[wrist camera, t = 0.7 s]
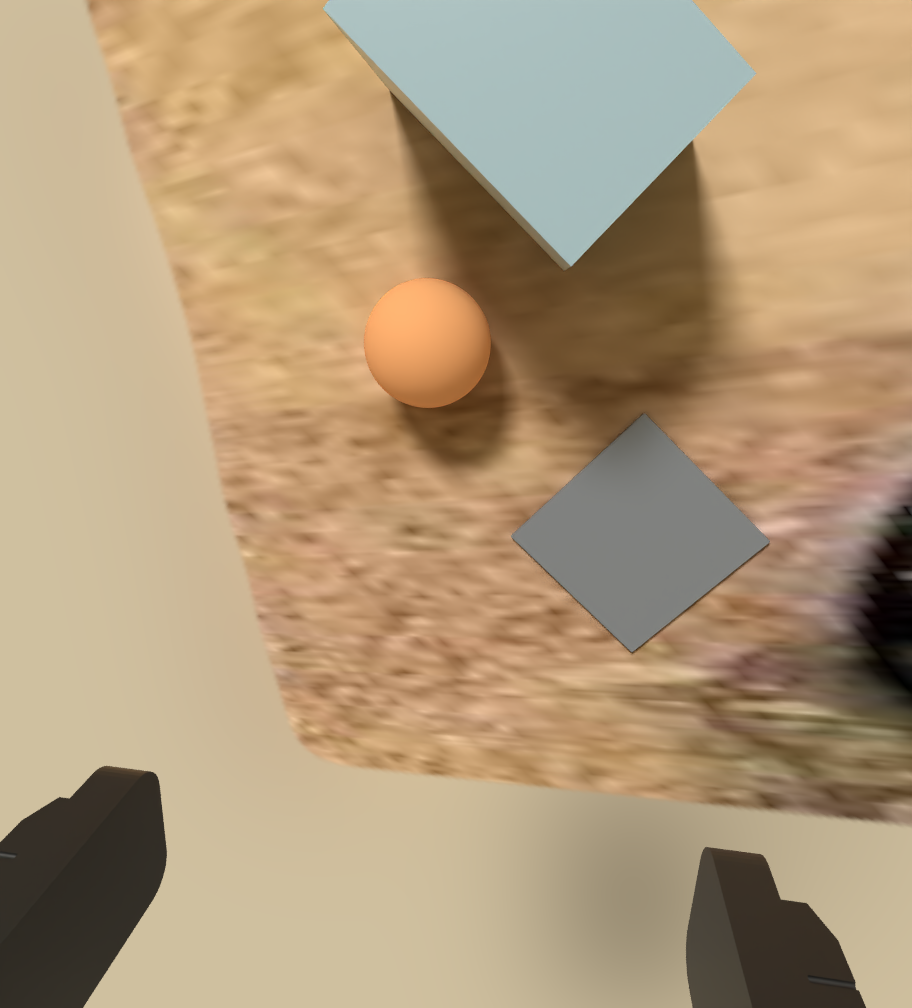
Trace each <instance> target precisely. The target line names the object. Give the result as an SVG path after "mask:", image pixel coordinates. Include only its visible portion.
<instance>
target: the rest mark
mask: <svg viewBox="0 0 912 1008" xmlns="http://www.w3.org/2000/svg"><path fill="white" fill-rule="evenodd" d="M511 537H512V538H513V539H514V540H515V541H516V542H517V543H518V544H519V545H520V546H521V547H522V548H523V549H524V550H525V551H526V552H527V553H529V554H530V555H531V556H532V557H533V558H534V559H535V560H536V561H537V562H538V563H539V564H540V565H541V566H542V567H543V568H544V569H545V570H546V571H547V572H548V573H549V574H550V575H551V576H553V577H554V578H555V579H556V580H557V581H558V582H559V583H560V584H561V585H562V586H563V587H564V588H565V589H566V590H567V591H568V592H569V593H570V594H571V595H572V596H573V597H574V598H575V599H576V600H578V601H579V602H580V603H581V604H582V605H583V606H584V607H585V608H586V609H587V610H588V611H589V612H590V613H591V614H592V615H593V616H594V617H595V618H596V619H597V620H598V621H599V622H600V623H602V624H603V625H604V626H605V627H606V628H607V629H608V630H609V631H610V632H611V633H612V634H613V635H614V636H615V637H616V638H617V639H618V640H619V641H620V642H621V643H622V644H623V645H624V646H625V647H627V648H628V649H629V650H630V651H631V652H633V651H634V650H636V649H637V648H638V647H639V646H641V645H642V644H643V643H644V642H646V641H647V640H648V639H649V638H651V637H652V636H653V635H654V634H656V633H657V632H658V631H659V630H661V629H662V628H663V627H664V626H666V625H667V624H668V623H669V622H671V621H672V620H673V619H674V618H676V617H677V616H678V615H679V614H681V613H682V612H683V611H684V610H686V609H687V608H688V607H689V606H691V605H692V604H693V603H694V602H696V601H697V600H698V599H699V598H701V597H702V596H703V595H704V594H706V593H707V592H708V591H709V590H711V589H712V588H713V587H714V586H716V585H717V584H718V583H719V582H721V581H722V580H723V579H724V578H726V577H727V576H728V575H729V574H731V573H732V572H733V571H734V570H736V569H737V568H738V567H739V566H741V565H742V564H743V563H744V562H746V561H747V560H748V559H749V558H751V557H752V556H753V555H754V554H756V553H757V552H758V551H759V550H761V549H762V548H763V547H764V546H766V545H767V544H768V543H769V542H770V541H769V540H768V539H767V538H766V537H765V536H764V535H763V534H762V533H761V532H760V531H759V529H758V528H757V527H756V526H755V525H754V524H753V523H752V522H751V521H750V520H749V519H748V518H747V517H746V516H745V515H744V514H743V513H742V512H741V511H740V510H739V509H738V508H737V507H736V506H735V505H734V504H733V503H732V502H731V501H730V500H729V499H728V498H727V497H726V496H725V495H724V494H723V493H722V492H721V491H720V490H719V489H718V488H717V487H716V486H715V485H714V484H713V483H712V481H711V480H710V479H709V478H708V477H707V476H706V475H705V474H704V473H703V472H702V471H701V470H700V469H699V468H698V467H697V466H696V465H695V464H694V463H693V462H692V461H691V460H690V459H689V458H688V457H687V456H686V455H685V454H684V453H683V452H682V451H681V450H680V449H679V448H678V447H677V446H676V445H675V444H674V443H673V442H672V441H671V440H670V439H669V438H668V437H667V436H666V435H665V434H664V432H663V431H662V430H661V429H660V428H659V427H658V426H657V425H656V424H655V423H654V422H653V421H652V420H651V419H650V418H649V417H648V416H647V415H646V414H645V413H643V414H642V415H641V416H640V417H639V418H638V419H637V420H636V421H635V422H634V423H633V424H631V425H630V426H629V427H628V428H627V429H626V430H625V431H624V432H623V433H622V434H621V435H620V436H618V437H617V438H616V439H615V440H614V441H613V442H612V443H611V444H610V445H609V446H608V447H607V448H605V449H604V450H603V451H602V452H601V453H600V454H599V455H598V456H597V457H596V458H595V459H594V460H592V461H591V462H590V463H589V464H588V465H587V466H586V467H585V468H584V469H583V470H582V471H581V472H579V473H578V474H577V475H576V476H575V477H574V478H573V479H572V480H571V481H570V482H569V483H568V484H566V485H565V486H564V487H563V488H562V489H561V490H560V491H559V492H558V493H557V494H556V495H555V496H553V497H552V498H551V499H550V500H549V501H548V502H547V503H546V504H545V505H544V506H543V507H542V508H540V509H539V510H538V511H537V512H536V513H535V514H534V515H533V516H532V517H531V518H530V519H529V520H527V521H526V522H525V523H524V524H523V525H522V526H521V527H520V528H519V529H518V530H517V531H516V532H514V533H513V534H512V535H511Z"/></svg>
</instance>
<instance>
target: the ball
mask: <svg viewBox="0 0 912 1008" xmlns="http://www.w3.org/2000/svg"><path fill="white" fill-rule="evenodd" d="M364 349H365V356H366V360H367V364H368V366H369V369H370V371H371V373H372V375H373V377H374V378H375V380H376V381H377V382H378V384H379V385H380V386H381V387H382V388H383V389H384V390H385V391H386V392H387V393H388V394H389V395H391V396H392V397H394V398H395V399H397V400H399V401H401V402H403V403H405V404H408V405H411V406H416V407H422V408H435V407H441V406H445V405H448V404H451V403H453V402H455V401H457V400H459V399H461V398H462V397H464V396H465V395H466V394H468V393H469V392H470V391H471V390H472V389H473V388H474V387H475V386H476V385H477V383H478V382H479V381H480V379H481V377H482V376H483V374H484V372H485V370H486V367H487V364H488V361H489V356H490V350H491V337H490V330H489V326H488V323H487V320H486V317H485V315H484V313H483V311H482V309H481V308H480V306H479V305H478V303H477V302H476V301H475V300H474V299H473V298H472V297H471V296H470V295H469V294H468V293H467V292H466V291H464V290H463V289H461V288H460V287H458V286H456V285H454V284H452V283H450V282H447V281H444V280H440V279H435V278H419V279H414V280H410V281H407V282H404V283H402V284H399V285H398V286H396V287H394V288H392V289H391V290H390V291H388V292H387V293H386V294H385V295H384V296H383V297H382V298H381V299H380V300H379V301H378V303H377V304H376V305H375V307H374V309H373V310H372V312H371V314H370V317H369V319H368V322H367V325H366V329H365V335H364Z"/></svg>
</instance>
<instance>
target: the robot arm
mask: <svg viewBox="0 0 912 1008" xmlns="http://www.w3.org/2000/svg"><path fill="white" fill-rule="evenodd" d="M166 858H167V850H166V841H165V831H164V822H163V813H162V804H161V794H160V785H159V780H158V777H157V776H156V774H154V773H153V772H149V771H142V770H134V769H127V768H119V767H111V766H104V767H101V768H99V769H98V770H96V771H95V772H94V773H93V774H92V775H91V776H90V777H89V778H88V779H87V781H86V782H85V783H84V784H83V785H82V786H81V787H80V788H79V789H78V790H77V791H76V792H75V793H74V794H73V796H72V797H71V798H70V799H68V798H61V797H59V798H57V799H56V800H54V801H52V802H51V803H49V804H48V805H46V806H44V807H43V808H41V809H40V810H38V811H36V812H35V813H33V814H32V815H30V816H29V817H27V818H25V819H23V820H22V821H21V822H20V823H19V824H18V825H17V826H16V827H15V828H14V829H13V830H12V831H11V832H10V833H9V834H8V835H7V836H6V837H5V838H4V839H3V840H2V841H1V842H0V1008H83V1007H84V1005H85V1004H86V1002H87V1001H88V999H89V997H90V996H91V994H92V993H93V991H94V990H95V988H96V987H97V985H98V983H99V982H100V981H101V979H102V977H103V976H104V974H105V973H106V971H107V970H108V968H109V967H110V965H111V963H112V962H113V960H114V959H115V957H116V956H117V954H118V953H119V951H120V949H121V948H122V947H123V945H124V944H125V942H126V941H127V938H128V937H129V936H130V934H131V933H132V931H133V930H134V928H135V927H136V925H137V924H138V922H139V921H140V919H141V917H142V916H143V914H144V913H145V911H146V910H147V908H148V907H149V905H150V904H151V902H152V900H153V899H154V897H155V895H156V893H157V891H158V889H159V887H160V884H161V881H162V878H163V874H164V871H165V866H166ZM686 963H687V976H688V983H689V989H690V995H691V1000H692V1006H693V1008H866V1006H865V1004H864V1002H863V999H862V997H861V995H860V992H859V991H858V990H856V987H855V980H854V978H853V975H852V973H851V970H850V968H849V966H848V964H847V961H846V958H845V956H844V954H843V951H842V949H841V946H840V944H839V942H838V940H837V939H836V938H835V936H834V935H833V934H832V933H831V932H830V930H829V929H828V928H827V927H826V926H825V924H823V922H822V921H821V920H820V918H819V917H818V916H817V915H816V914H815V912H814V911H813V910H812V909H811V908H810V907H809V905H808V904H807V903H801V902H794V901H787V900H781V899H780V897H779V894H778V891H777V888H776V885H775V882H774V879H773V877H772V874H771V871H770V868H769V865H768V863H767V861H766V859H765V858H764V856H763V855H761V854H754V853H747V852H739V851H732V850H723V849H717V848H709V847H705V849H704V850H703V852H702V855H701V860H700V865H699V870H698V876H697V881H696V886H695V892H694V898H693V903H692V908H691V914H690V920H689V925H688V930H687V942H686Z"/></svg>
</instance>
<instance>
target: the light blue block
mask: <svg viewBox="0 0 912 1008" xmlns="http://www.w3.org/2000/svg"><path fill="white" fill-rule="evenodd" d="M323 10H324V11H325V12H326V13H327V15H328V16H329V17H330V18H331V19H332V21H333V22H334V23H335V24H336V26H337V27H338V28H339V29H340V30H341V32H342V33H343V34H344V35H345V37H346V38H347V39H348V40H349V41H350V43H351V44H352V45H353V46H354V48H355V49H356V50H357V51H358V52H359V54H360V55H361V56H362V57H363V59H364V60H365V61H366V62H367V63H368V65H369V66H370V67H371V68H372V70H373V71H374V72H375V73H376V74H377V76H378V77H379V78H380V79H381V81H382V82H383V83H384V84H385V85H386V87H387V88H388V89H389V90H390V91H391V92H392V93H393V94H394V96H395V97H396V98H397V99H398V100H399V101H400V102H401V103H402V104H403V105H404V106H405V107H406V108H407V109H408V110H409V111H410V112H411V113H412V114H413V115H414V116H415V117H416V118H417V119H418V120H419V121H420V122H421V123H422V125H423V126H424V127H425V128H426V129H427V130H428V131H429V132H430V133H431V134H432V135H433V136H434V137H435V138H436V139H437V140H438V141H439V142H440V143H441V144H442V145H443V146H444V147H445V148H446V149H447V150H448V151H449V152H450V153H451V155H452V156H453V157H454V158H455V159H456V160H457V161H458V162H459V163H460V164H461V165H462V166H463V167H464V168H465V169H466V170H467V171H468V172H469V173H470V174H471V175H472V176H473V177H474V178H475V179H476V180H477V181H478V182H479V184H480V185H481V186H482V187H483V188H484V189H485V190H486V191H487V192H488V193H489V194H490V195H491V196H492V197H493V198H494V199H495V200H496V201H497V202H498V203H499V204H500V205H501V206H502V207H503V208H504V209H505V210H506V211H507V213H508V214H509V215H510V216H511V217H512V218H513V219H514V220H515V221H516V222H517V223H518V224H519V225H520V226H521V227H522V228H523V229H524V230H525V231H526V232H527V233H528V234H529V235H530V236H531V237H532V238H533V239H534V240H535V242H536V243H537V244H538V245H539V246H540V247H541V248H542V249H543V250H544V251H545V252H546V253H547V254H548V255H549V256H550V257H551V258H552V259H553V260H554V261H555V262H556V263H557V264H558V265H559V266H560V267H561V268H562V269H563V271H565V270H567V269H568V268H570V267H571V266H572V265H573V264H574V263H575V262H576V261H577V260H578V259H579V258H580V257H581V256H582V255H583V254H584V253H585V252H586V250H587V249H588V248H589V247H590V246H591V245H592V244H593V243H594V242H595V241H596V240H597V239H598V238H599V237H600V236H601V235H602V234H603V233H604V232H605V231H606V230H607V229H608V228H609V227H610V225H611V224H612V223H613V222H614V221H615V220H616V219H617V218H618V217H619V216H620V215H621V214H622V213H623V212H624V211H625V210H626V209H627V208H628V207H629V206H630V205H631V204H632V203H633V201H634V200H635V199H636V198H637V197H638V196H639V195H640V194H641V193H642V192H643V191H644V190H645V189H646V188H647V187H648V186H649V185H650V184H651V183H652V182H653V181H654V180H655V179H656V178H657V176H658V175H659V174H660V173H661V172H662V171H663V170H664V169H665V168H666V167H667V166H668V165H669V164H670V163H671V162H672V161H673V160H674V159H675V158H676V157H677V156H678V155H679V154H680V153H681V151H682V150H683V149H684V148H685V147H686V146H687V145H688V144H689V143H690V142H691V141H692V140H693V139H694V138H695V137H696V136H697V135H698V134H699V133H700V132H701V131H702V130H703V129H704V127H705V126H706V125H707V124H708V123H709V122H710V121H711V120H712V119H713V118H714V117H715V116H716V115H717V114H718V113H719V112H720V111H721V110H722V109H723V108H724V107H725V106H726V105H727V104H728V102H729V101H730V100H731V99H732V98H733V97H734V96H735V95H736V94H737V93H738V92H739V91H740V90H741V89H742V88H743V87H744V86H745V85H746V84H747V83H748V82H749V81H750V80H751V79H752V77H753V76H754V75H755V74H756V72H755V71H754V70H753V69H752V68H751V67H750V66H749V64H748V63H747V62H746V61H745V60H744V59H743V58H742V57H741V55H740V54H739V53H738V52H737V51H736V50H735V49H734V47H733V46H732V45H731V44H730V43H729V42H728V41H727V40H726V38H725V37H724V36H723V35H722V34H721V33H720V32H719V30H718V29H717V28H716V27H715V26H714V25H713V24H712V22H711V21H710V20H709V19H708V18H707V17H706V16H705V15H704V13H703V12H702V11H701V10H700V9H699V8H698V7H697V5H696V4H695V3H694V2H693V1H692V0H329V1H328V2H327V4H326V5H325V6H324V8H323Z"/></svg>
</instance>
